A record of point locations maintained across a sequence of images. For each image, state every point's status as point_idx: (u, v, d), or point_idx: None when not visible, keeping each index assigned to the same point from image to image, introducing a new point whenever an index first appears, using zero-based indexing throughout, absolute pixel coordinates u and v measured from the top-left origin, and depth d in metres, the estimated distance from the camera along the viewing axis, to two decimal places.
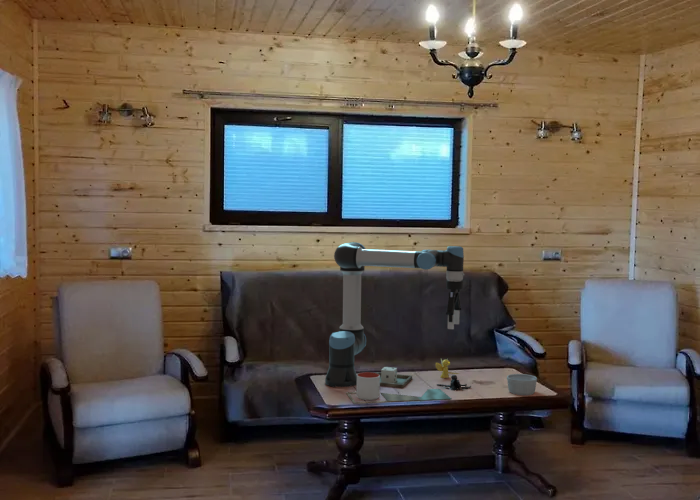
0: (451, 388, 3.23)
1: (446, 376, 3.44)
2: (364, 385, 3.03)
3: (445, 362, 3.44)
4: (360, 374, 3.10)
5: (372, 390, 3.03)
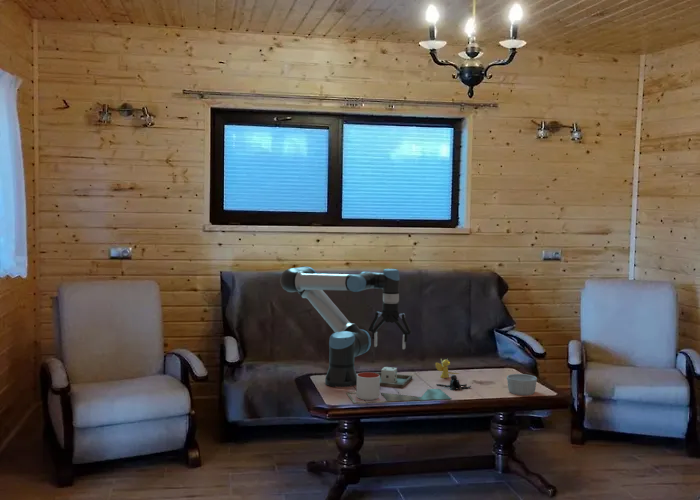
0: (451, 388, 3.23)
1: (446, 376, 3.44)
2: (364, 385, 3.03)
3: (445, 362, 3.44)
4: (360, 374, 3.10)
5: (372, 390, 3.03)
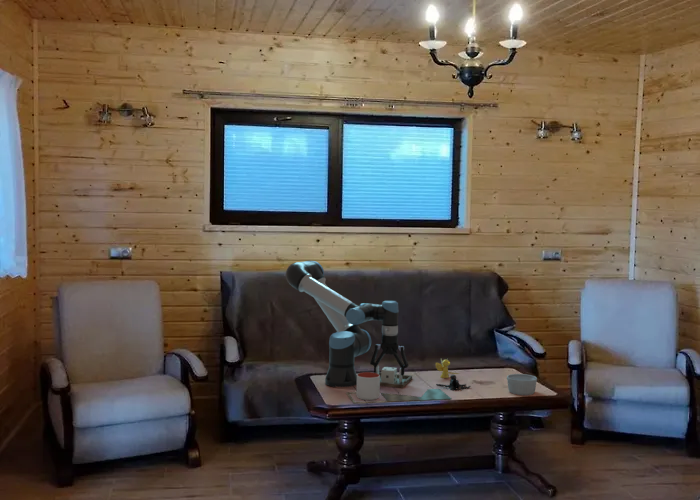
0: (450, 388, 3.23)
1: (446, 376, 3.44)
2: (364, 385, 3.03)
3: (445, 362, 3.44)
4: (360, 374, 3.10)
5: (372, 390, 3.03)
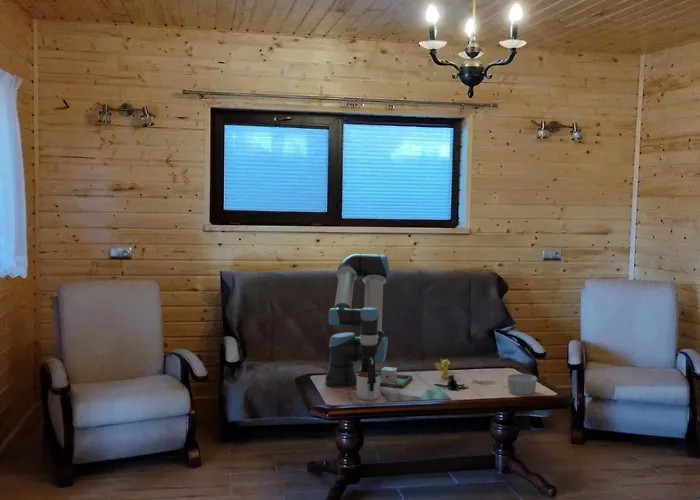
0: (448, 388, 3.23)
1: (446, 376, 3.44)
2: (364, 385, 3.03)
3: (445, 362, 3.44)
4: (360, 374, 3.10)
5: None
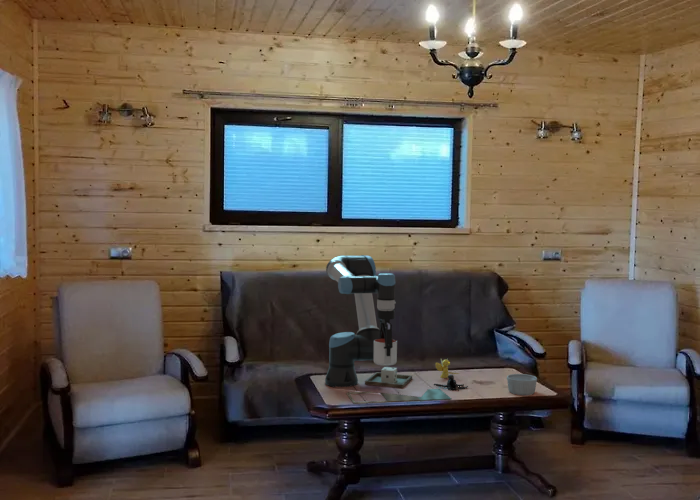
0: (447, 388, 3.23)
1: (446, 376, 3.44)
2: (381, 350, 3.03)
3: (445, 362, 3.44)
4: (377, 340, 3.10)
5: None
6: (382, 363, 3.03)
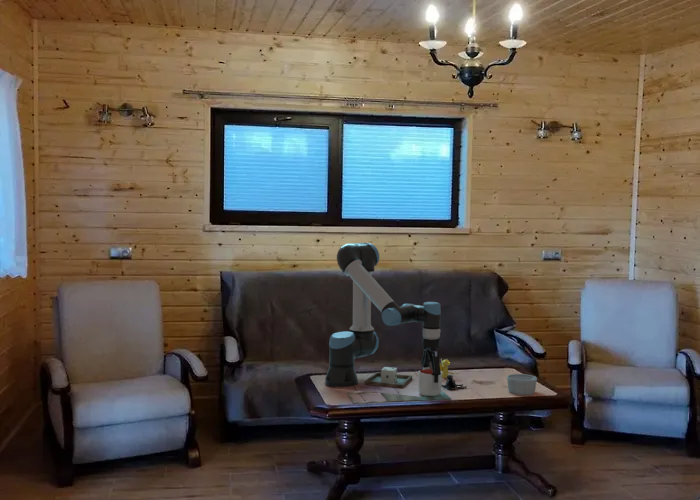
0: (446, 388, 3.23)
1: (446, 376, 3.44)
2: (427, 381, 3.08)
3: (445, 362, 3.44)
4: (421, 371, 3.16)
5: None
6: (428, 394, 3.09)
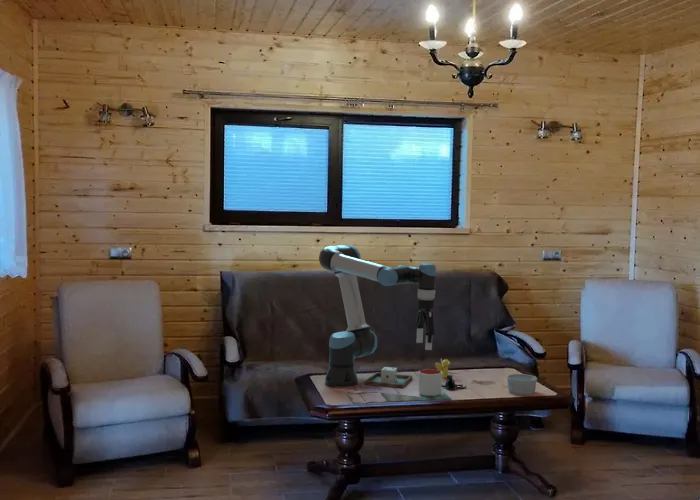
0: (446, 388, 3.23)
1: None
2: (427, 381, 3.08)
3: (445, 362, 3.44)
4: (421, 371, 3.16)
5: (435, 386, 3.08)
6: (428, 394, 3.09)
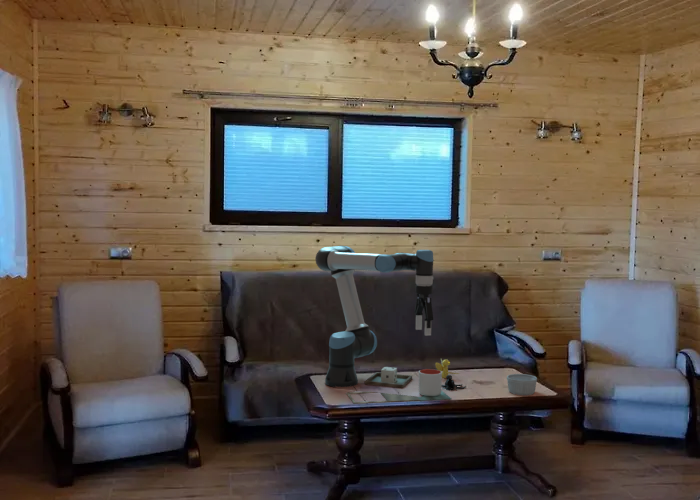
0: (445, 388, 3.23)
1: None
2: (427, 381, 3.08)
3: (445, 362, 3.44)
4: (421, 371, 3.16)
5: (435, 386, 3.08)
6: (428, 394, 3.09)
